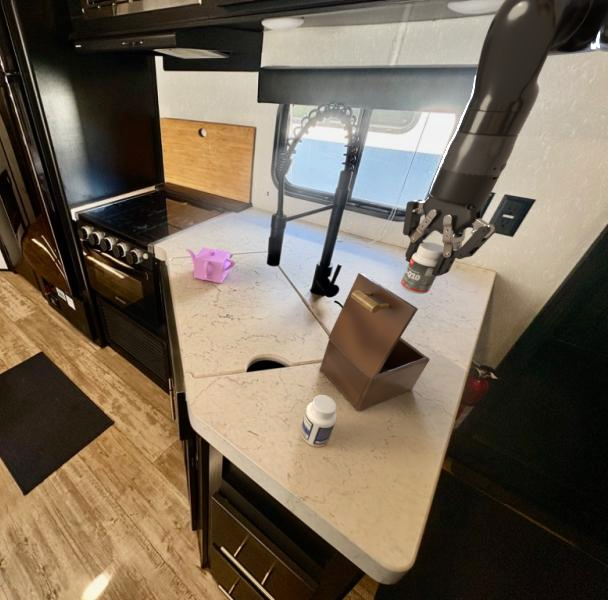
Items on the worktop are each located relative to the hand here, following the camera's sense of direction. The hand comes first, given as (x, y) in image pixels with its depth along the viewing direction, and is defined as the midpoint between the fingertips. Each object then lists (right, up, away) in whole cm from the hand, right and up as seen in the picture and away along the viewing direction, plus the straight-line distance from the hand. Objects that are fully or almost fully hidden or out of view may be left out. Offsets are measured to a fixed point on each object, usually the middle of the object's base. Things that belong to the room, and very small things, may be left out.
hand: (423, 267), depth 56 cm
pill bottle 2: (0, -4, +3) cm, 5 cm away
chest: (-2, -24, +17) cm, 30 cm away
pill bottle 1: (-18, -33, +5) cm, 38 cm away
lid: (-8, -11, +4) cm, 14 cm away
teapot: (-38, +3, +55) cm, 67 cm away
